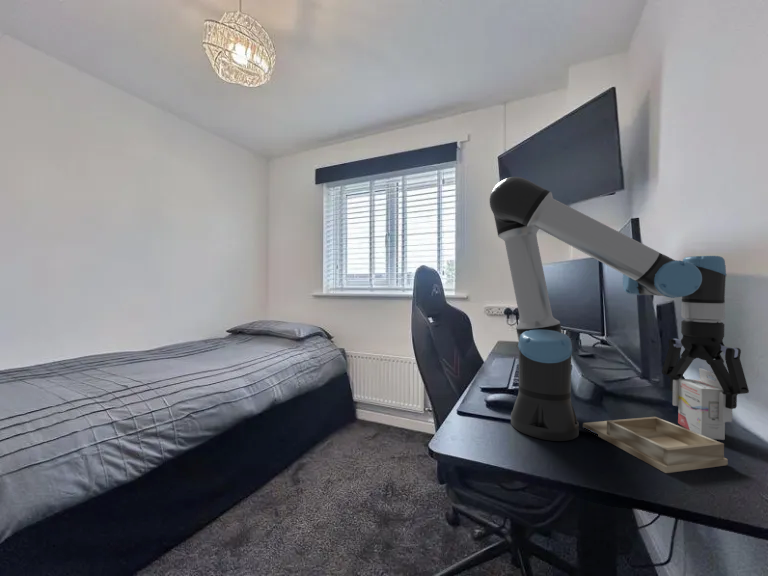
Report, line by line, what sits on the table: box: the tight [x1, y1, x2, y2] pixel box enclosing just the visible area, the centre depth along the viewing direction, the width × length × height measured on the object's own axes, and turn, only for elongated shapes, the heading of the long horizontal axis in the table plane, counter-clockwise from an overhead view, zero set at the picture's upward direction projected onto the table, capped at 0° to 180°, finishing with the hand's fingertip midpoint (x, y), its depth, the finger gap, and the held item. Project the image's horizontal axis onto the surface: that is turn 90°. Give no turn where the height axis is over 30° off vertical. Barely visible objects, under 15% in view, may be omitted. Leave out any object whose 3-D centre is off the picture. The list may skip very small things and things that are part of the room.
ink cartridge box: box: [677, 367, 726, 441], centre depth 81 cm, size 9×5×15 cm, turn 168°
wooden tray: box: [582, 416, 729, 474], centre depth 74 cm, size 20×15×4 cm
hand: (700, 412), depth 81 cm, fingers closed on ink cartridge box, 9 cm apart
